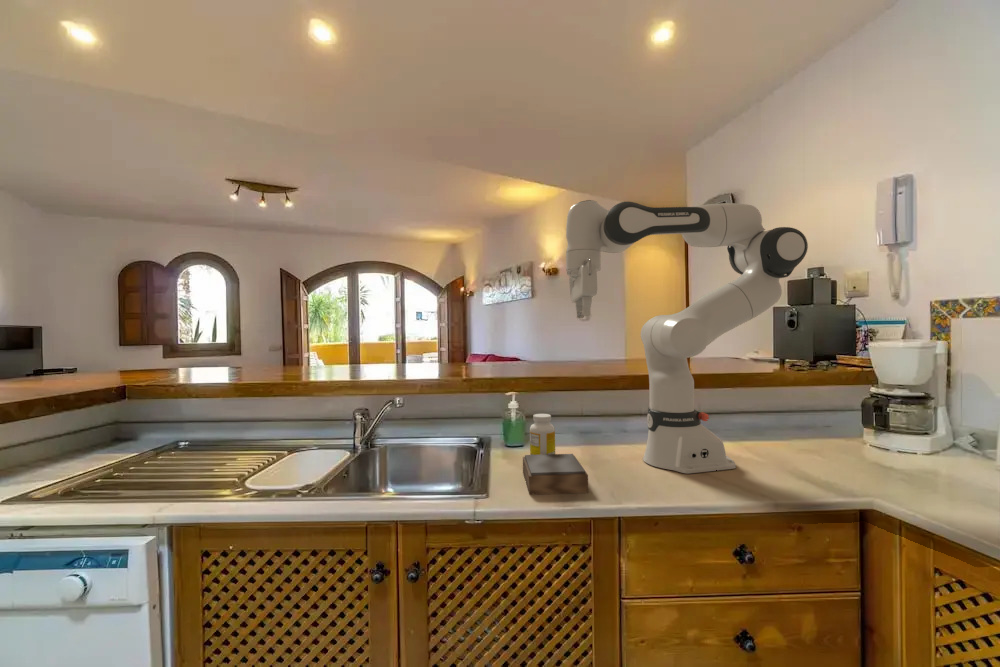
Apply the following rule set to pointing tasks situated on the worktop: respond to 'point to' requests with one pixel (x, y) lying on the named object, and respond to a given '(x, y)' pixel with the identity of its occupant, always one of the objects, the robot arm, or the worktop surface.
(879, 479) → the worktop surface
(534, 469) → the block
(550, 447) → the supplement bottle
